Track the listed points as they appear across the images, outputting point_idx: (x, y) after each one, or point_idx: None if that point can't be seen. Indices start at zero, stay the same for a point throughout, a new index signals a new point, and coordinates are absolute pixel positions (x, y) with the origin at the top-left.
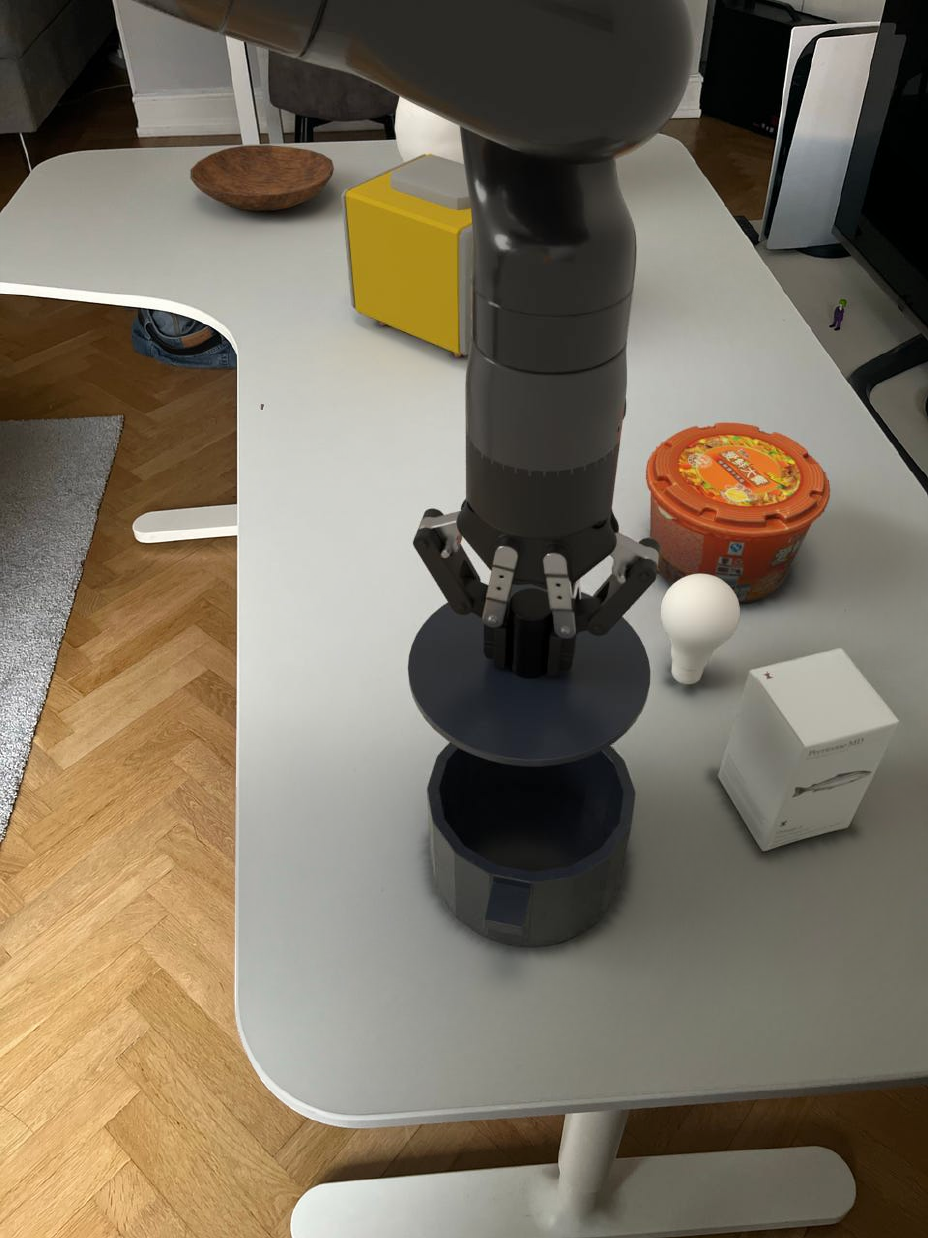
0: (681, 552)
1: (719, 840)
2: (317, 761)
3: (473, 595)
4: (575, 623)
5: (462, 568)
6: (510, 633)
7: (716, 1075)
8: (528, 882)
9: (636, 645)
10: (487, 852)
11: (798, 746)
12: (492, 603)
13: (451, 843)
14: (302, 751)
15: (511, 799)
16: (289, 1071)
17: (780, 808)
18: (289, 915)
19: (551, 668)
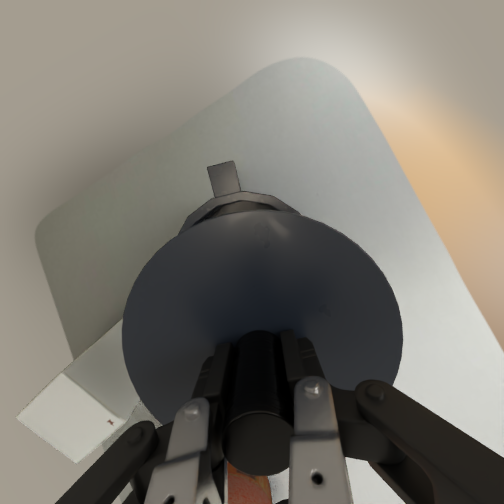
0: (240, 490)
1: None
2: (396, 256)
3: (366, 427)
4: (173, 432)
5: (419, 485)
6: (282, 377)
7: (109, 177)
8: (215, 197)
9: (164, 417)
10: None
11: (71, 371)
12: (322, 424)
13: (278, 202)
14: (409, 259)
15: None
16: (314, 66)
17: (110, 329)
18: (362, 153)
19: (223, 351)
